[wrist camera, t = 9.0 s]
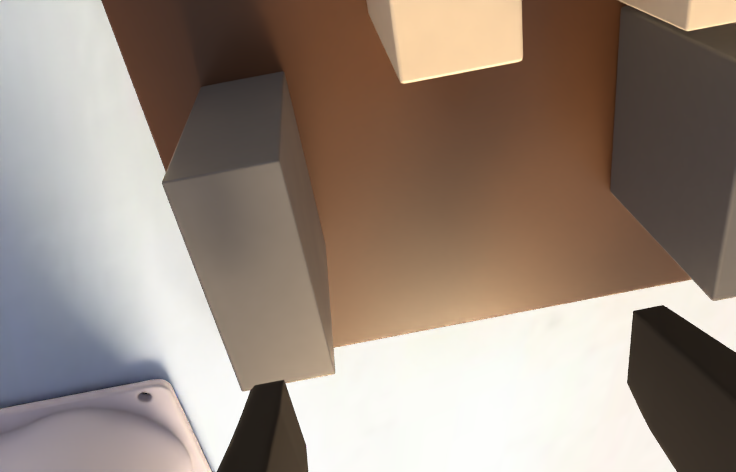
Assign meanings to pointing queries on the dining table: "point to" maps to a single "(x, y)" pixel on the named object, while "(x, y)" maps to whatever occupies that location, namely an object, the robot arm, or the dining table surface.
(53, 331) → the dining table surface
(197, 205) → the grey block pair
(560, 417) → the dining table surface
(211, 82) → the shelf board
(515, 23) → the tan wooden block
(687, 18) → the cream block
